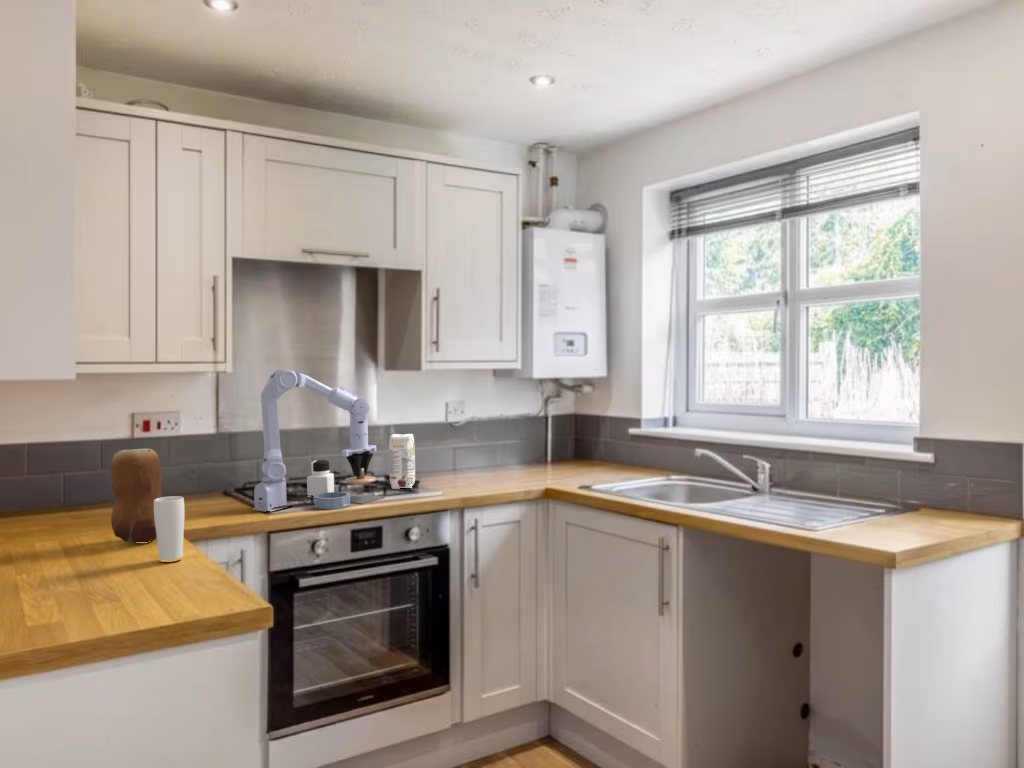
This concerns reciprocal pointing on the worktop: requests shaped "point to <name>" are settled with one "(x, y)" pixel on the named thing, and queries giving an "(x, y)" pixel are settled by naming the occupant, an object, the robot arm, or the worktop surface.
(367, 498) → the mat
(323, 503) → the bowl
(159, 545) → the drinking glass
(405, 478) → the juice carton
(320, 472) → the medicine bottle
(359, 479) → the lid
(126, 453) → the butternut squash
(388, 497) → the worktop surface
